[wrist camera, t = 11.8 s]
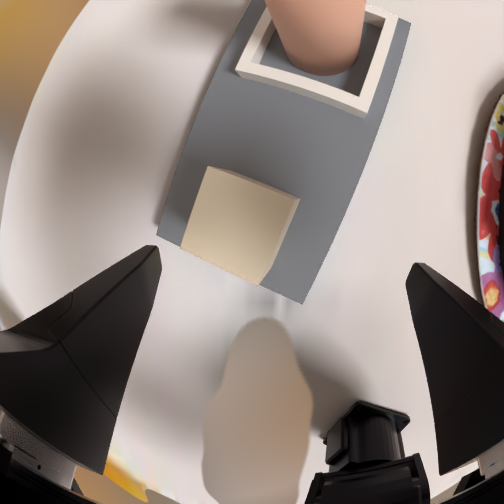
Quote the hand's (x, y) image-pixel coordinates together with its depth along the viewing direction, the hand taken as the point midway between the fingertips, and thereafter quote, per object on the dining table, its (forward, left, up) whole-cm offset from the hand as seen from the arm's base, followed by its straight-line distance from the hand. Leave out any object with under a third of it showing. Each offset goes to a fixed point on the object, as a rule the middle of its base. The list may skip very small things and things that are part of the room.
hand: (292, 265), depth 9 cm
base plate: (+4, -7, -11) cm, 13 cm away
